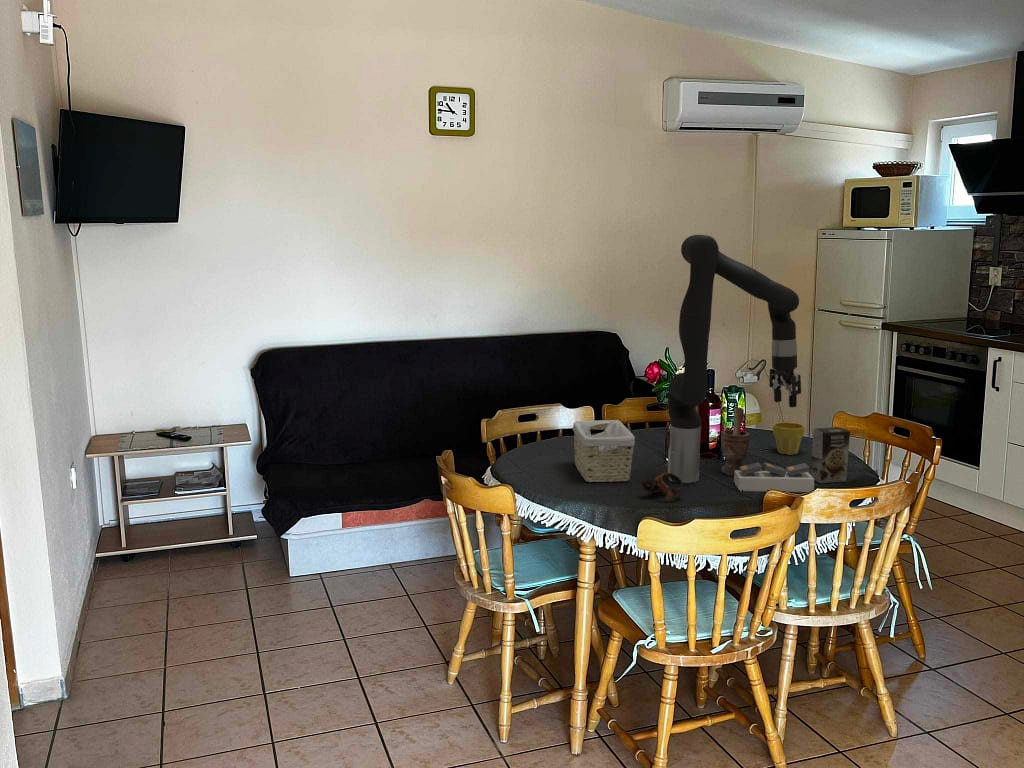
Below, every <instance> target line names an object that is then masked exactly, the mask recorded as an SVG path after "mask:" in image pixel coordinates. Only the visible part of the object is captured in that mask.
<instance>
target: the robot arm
mask: <svg viewBox="0 0 1024 768" xmlns="http://www.w3.org/2000/svg"><path fill="white" fill-rule="evenodd" d="M680 252H681V255H682V258H683V260H684V261H686V263H688V264H690V265H689V266H690V271H689V272H690V273H689V284H688V287H687V290H686V293H685V295H684V297H683V301H682V303H681V306H680V312H679V321H678V334H679V339H680V340H679V341H680V344H681V348H682V351H683V358H684V370H683V372H679V373H676V374H675V375H674V376H673V377H672V378H671V379H670V382H669V386H668V393H667V394H668V395H667V396H668V397H667V400H668V403H667V405H668V407H667V408H668V411H667V412H668V416H669V418H670V427H669V428H670V429H669V430H670V431H669V434H670V435H669V446H668V450H667V451H668V453H667V454H668V455H667V456H668V457H667V461H668V462H667V473H672V474H674V475H676V476H678V477H679V478H680V479H681V481H682V483H683V484H692V482H693V483H696V481H697V482H699V479H700V478H699V477H700V456H701V455H700V454H701V436H702V435H701V432H702V417H701V415H700V414H699V413H698V411H697V407H698V406H700V405H701V404H702V403H703V402H704V401H705V399H706V397H707V394H708V393H707V392H708V352H709V341H710V339H709V338H710V331H711V321H712V307H713V295H714V294H713V292H714V291H713V290H714V289H713V288H714V282H715V281H714V280H715V276H716V275H717V276H719V277H721V278H723V279H725V281H728V282H729V283H731V284H733V286H736V287H737V288H739V289H741V290H742V291H744V292H745V293H747V294H749V295H751V296H752V297H754V298H756V299H759V300H762V301H764V302H766V303H767V309H768V315H769V318H770V322H771V326H772V327H771V337H772V338H771V339H772V340H771V341H772V342H771V368H770V369H769V380H768V381H769V387H770V388H772V390H773V401H774V402H775V403H779V402H782V389H783V387H784V389H785V390H786V391H787V393H788V407H789V408H796V407H797V398H798V395H801V394H802V380H801V375H800V374H795V371H794V370H795V369H797V368H798V345H797V326H796V322H795V320H794V319H792V317H791V313H792V312H794V311H795V310H797V309H798V308H799V305H800V297H799V295H798V293H796V292H795V291H794V290H793V289H791V288H789V287H787V286H785V285H784V284H782V283H779V282H778V281H777V282H776V281H774V280H772V279H771V278H769V277H768V276H766V275H765V274H764V273H762V272H760V271H758V270H756V269H755V268H753V267H751V266H749V265H747V264H744V263H742V262H740V261H737V260H735V259H733V258H731V257H729V256H727V255H725V254H724V253H723V252H721V251H720V250H719V244H718V242H717V240H716V239H715V238H714V237H712V236H711V235H709V234H708V235H707V234H692V235H690V236H688V237H686V238H685V239H684V241H682V244H681V247H680ZM667 479H668V481H669V482H674V483H677V482H676V481H672V479H671V478H670V477H668V478H667Z"/></svg>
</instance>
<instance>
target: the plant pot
mask: <svg viewBox="0 0 1024 768" xmlns="http://www.w3.org/2000/svg"><path fill="white" fill-rule="evenodd" d="M805 427H806V426H805V425H804V424H802V423H799V422H792V421H779V422H775V423H773V425H772V434H773V435H774V438H775V442H776V443H775V444H776V450H777V453H778V452H779V454H780V453H781V454H780V455H784V454H787V455H786V456H795V455H797V454H798V453H799V449H800V445H801V441H802V440H803V439H802V438H803V437H804V435H805ZM794 454H795V455H794Z"/></svg>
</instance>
